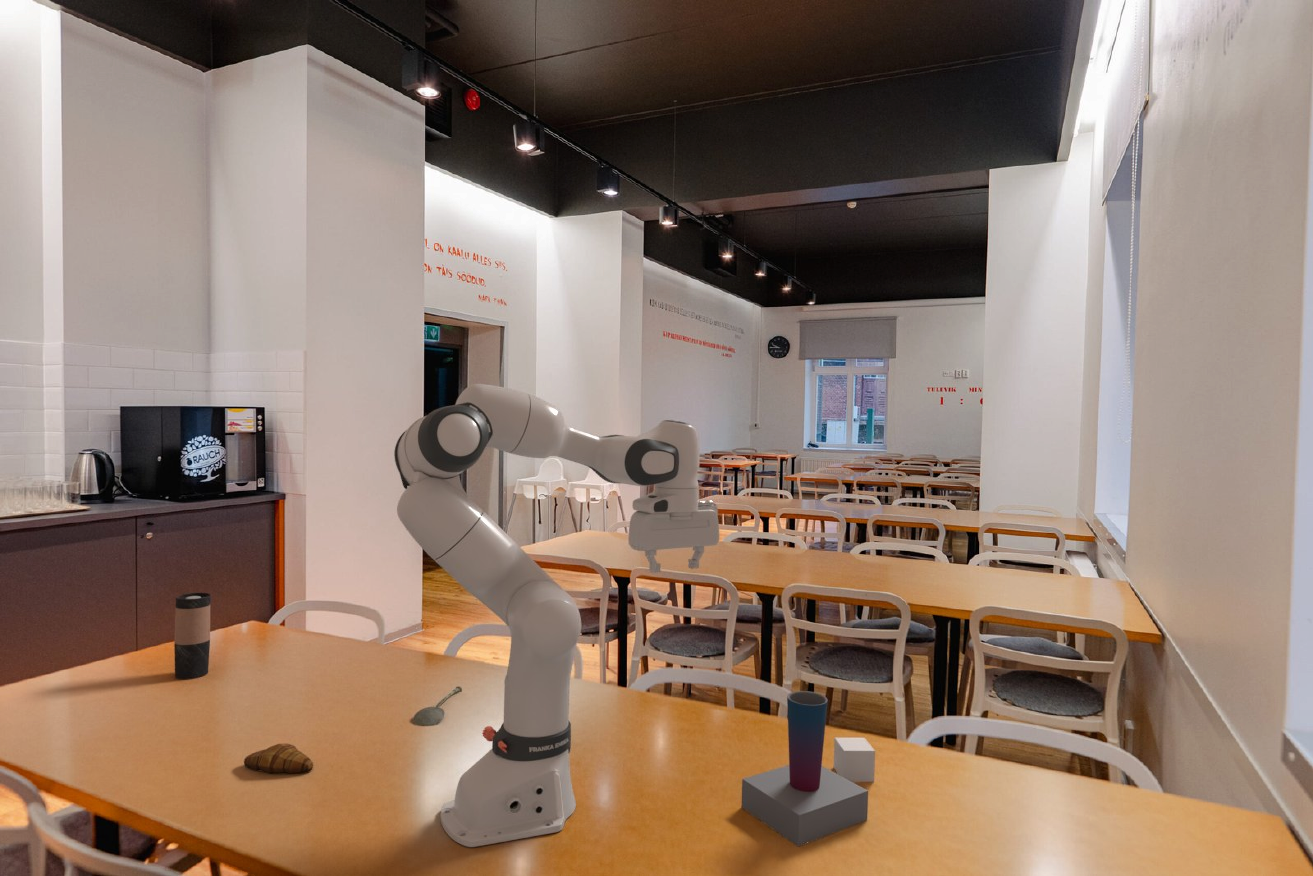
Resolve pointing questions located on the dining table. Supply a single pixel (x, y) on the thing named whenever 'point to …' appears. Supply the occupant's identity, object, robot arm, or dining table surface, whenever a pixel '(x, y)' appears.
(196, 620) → the travel mug
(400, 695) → the dining table surface
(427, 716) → the soupspoon
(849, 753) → the white cube
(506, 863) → the dining table surface
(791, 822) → the plinth
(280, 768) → the croissant
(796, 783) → the cup
